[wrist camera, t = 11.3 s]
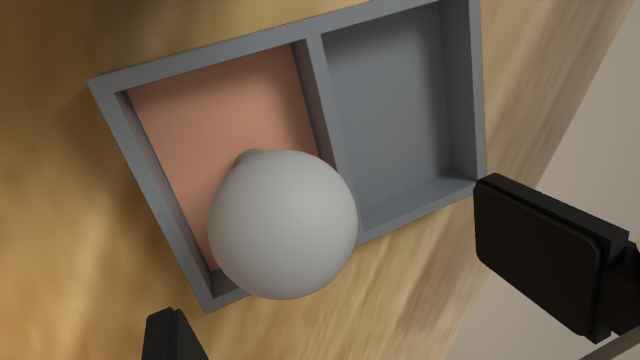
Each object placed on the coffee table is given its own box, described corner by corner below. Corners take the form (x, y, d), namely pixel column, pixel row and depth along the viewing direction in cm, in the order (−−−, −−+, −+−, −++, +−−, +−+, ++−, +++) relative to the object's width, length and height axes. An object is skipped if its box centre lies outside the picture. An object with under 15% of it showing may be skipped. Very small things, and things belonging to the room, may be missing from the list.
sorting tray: (438, -18, 23) (479, -27, 20) (454, 172, 29) (487, 187, 26) (99, 74, 18) (85, 80, 15) (201, 281, 24) (205, 314, 21)
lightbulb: (303, 117, 22) (398, 177, 12) (295, 208, 24) (372, 321, 14) (198, 112, 20) (214, 180, 10) (199, 213, 22) (212, 349, 12)
